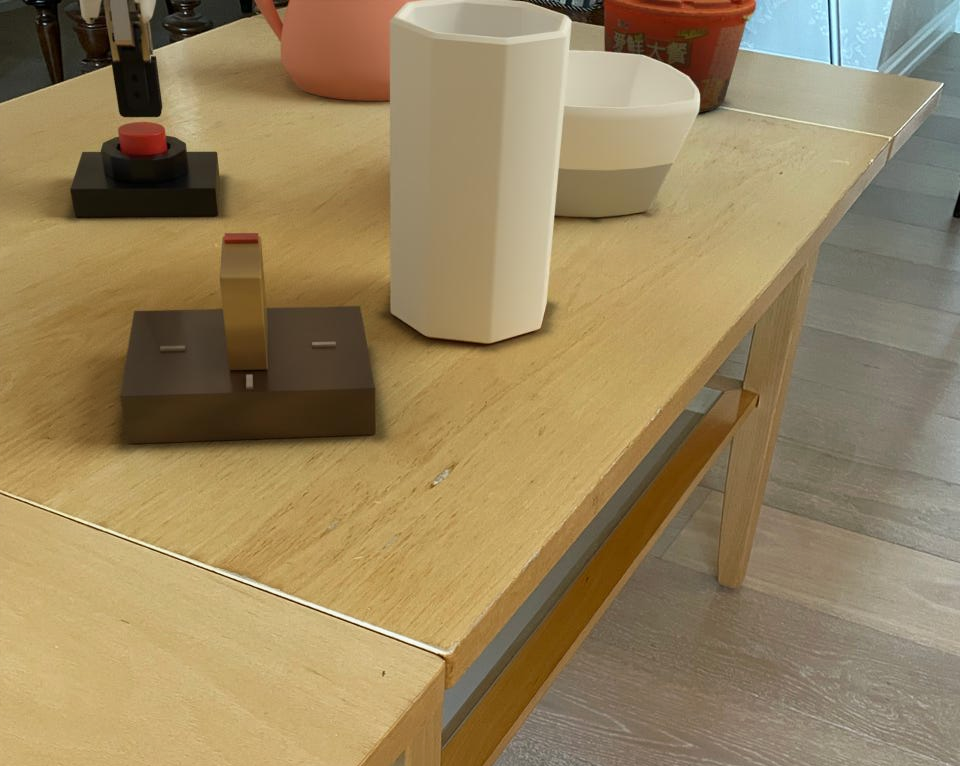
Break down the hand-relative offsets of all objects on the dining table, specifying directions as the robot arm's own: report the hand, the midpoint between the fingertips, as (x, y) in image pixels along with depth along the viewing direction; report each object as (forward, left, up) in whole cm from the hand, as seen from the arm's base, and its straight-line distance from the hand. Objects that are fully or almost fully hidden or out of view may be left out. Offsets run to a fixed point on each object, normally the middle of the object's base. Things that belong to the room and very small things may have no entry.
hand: (141, 113), depth 90 cm
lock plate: (+8, -34, -6) cm, 36 cm away
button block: (0, 0, -6) cm, 6 cm away
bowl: (+36, 0, -7) cm, 36 cm away
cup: (+23, -23, -7) cm, 33 cm away
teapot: (+21, +34, -7) cm, 40 cm away
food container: (+52, +29, -7) cm, 60 cm away
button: (0, 0, -3) cm, 3 cm away
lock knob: (+8, -34, -3) cm, 35 cm away
